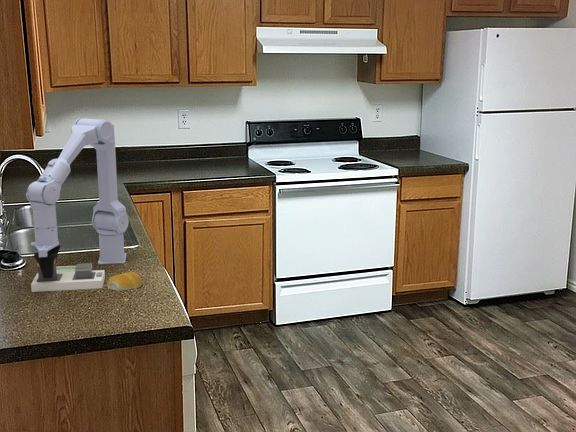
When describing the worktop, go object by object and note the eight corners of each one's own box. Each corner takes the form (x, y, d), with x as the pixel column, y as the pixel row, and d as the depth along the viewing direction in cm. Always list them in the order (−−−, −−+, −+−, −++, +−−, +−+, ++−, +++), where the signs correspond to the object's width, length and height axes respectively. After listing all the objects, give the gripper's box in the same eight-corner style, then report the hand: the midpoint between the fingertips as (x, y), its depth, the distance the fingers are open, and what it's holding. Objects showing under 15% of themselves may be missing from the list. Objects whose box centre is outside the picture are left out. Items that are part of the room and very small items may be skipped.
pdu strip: (37, 281, 182) (36, 262, 181) (104, 278, 185) (103, 259, 184) (31, 293, 173) (30, 273, 172) (102, 289, 177) (101, 270, 175)
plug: (41, 279, 180) (39, 255, 178) (57, 278, 180) (55, 254, 179) (39, 284, 176) (36, 259, 174) (55, 283, 176) (52, 258, 175)
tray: (52, 269, 192) (52, 266, 192) (84, 268, 194) (84, 265, 193) (47, 280, 183) (47, 276, 183) (81, 278, 185) (81, 275, 185)
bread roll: (147, 285, 181) (147, 272, 180) (122, 295, 174) (121, 280, 173) (127, 279, 185) (126, 266, 184) (101, 288, 178) (101, 274, 177)
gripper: (34, 220, 181) (38, 267, 184) (24, 234, 167) (28, 284, 170) (61, 219, 182) (64, 266, 185) (53, 233, 168) (57, 283, 171)
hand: (49, 275), depth 178 cm, fingers closed on plug, 4 cm apart
